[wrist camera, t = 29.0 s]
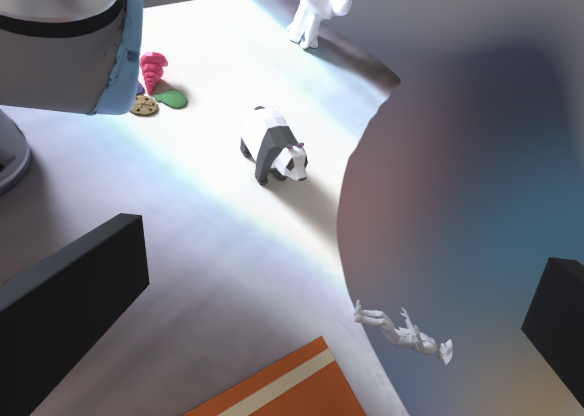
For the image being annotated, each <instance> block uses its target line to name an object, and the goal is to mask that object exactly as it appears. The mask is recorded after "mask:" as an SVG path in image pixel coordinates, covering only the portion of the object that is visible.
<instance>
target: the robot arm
mask: <svg viewBox="0 0 584 416" xmlns="http://www.w3.org/2000/svg"><path fill="white" fill-rule="evenodd" d="M142 21H143V1H142V0H0V105H6V106H15V107H25V108H34V109H43V110H52V111H61V112H70V113H80V114H86V115H95V114H109V115H122V114H125V113H127V112H129V111H130V110H131V109H132V108H133V106H134V103H135V98H136V92H137V85H138V75H139V56H140V47H141V39H142ZM9 116H10V115H9ZM10 117H11V116H10ZM11 118H12V117H11ZM12 120H13V121H14V122H15V123H14V122H13V121H12ZM12 120H11V119H10V118H9V117H8V116H7V115H6V114H5V113H4V112H3V111H2V110H1V109H0V194H2V193H3V192H5V191H6V190H8V189H9V188H11V187H12V186H13V185H14V184H15V183H17V182H18V181H19V180H20V178H21V177H22V176H23V175H24V173H25V172H26V170H27V168H28V166H29V163H30V156H31V154H30V149H29V146H28V143H27V141H26V138H25V136H24V134H23V133H24V132H23V131H22V129H21V128H20V127H19V125H18V124H17V123H16V121H15V120H14V119H13V118H12ZM149 284H150V283H149V274H148V266H147V257H146V248H145V239H144V230H143V221H142V215H133V214H123V213H120V214H118V215H117V216H115V217H113V218H112V219H110V220H108V221H107V222H105V223H103V224H102V225H100V226H98V227H97V228H95V229H93V230H92V231H90V232H88V233H87V234H85V235H84V236H82V237H80V238H79V239H77V240H75V241H74V242H72V243H70V244H69V245H67V246H65V247H64V248H62V249H60V250H59V251H57V252H55V253H54V254H52V255H50V256H49V257H47V258H45V259H44V260H42V261H40V262H39V263H37V264H35V265H34V266H32V267H30V268H29V269H27V270H25V271H24V272H22V273H20V274H19V275H17V276H15V277H14V278H12V279H10V280H9V281H7V282H5V283H4V284H2V285H1V286H0V416H29V415H30V414H31V413H32V412H33V411H34V410H35V409H36V408H37V407H38V406H39V405H40V403H41V402H42V401H43V400H44V399H45V398H46V397H47V396H48V395H49V394H50V393H51V391H52V390H53V389H54V388H55V387H56V386H57V385H58V384H59V383H60V382H61V380H62V379H63V378H64V377H65V376H66V375H67V374H68V373H69V372H70V371H71V370H72V368H73V367H74V366H75V365H76V364H77V363H78V362H79V361H80V360H81V359H82V358H83V356H84V355H85V354H86V353H87V352H88V351H89V350H90V349H91V348H92V347H93V346H94V344H95V343H96V342H97V341H98V340H99V339H100V338H101V337H102V336H103V335H104V333H105V332H106V331H107V330H108V329H109V328H110V327H111V326H112V325H113V324H114V323H115V321H116V320H117V319H118V318H119V317H120V316H121V315H122V314H123V313H124V312H125V311H126V309H127V308H128V307H129V306H130V305H131V304H132V303H133V302H134V301H135V300H136V298H137V297H138V296H139V295H140V294H141V293H142V292H143V291H144V290H145V289H146V288H147V286H148V285H149ZM521 329H522V331H523V332H524V333H525V335H526V336H527V337H528V338H529V340H530V341H531V342H532V343H533V345H534V346H535V347H536V349H537V350H538V351H539V352H540V353H541V355H542V356H543V357H544V359H545V360H546V361H547V363H548V364H549V365H550V366H551V368H552V369H553V370H554V371H555V373H556V374H557V375H558V376H559V378H560V379H561V380H562V381H563V383H564V384H565V385H566V386H567V388H568V389H569V390H570V391H571V393H572V394H573V395H574V397H576V399H577V400H578V402H579V403H580V404H581V405H582V407H583V408H584V266H583V265H582V264H580V263H579V262H578V261H576V260H570V259H569V260H568V259H560V258H550V257H549V259H548V262H547V265H546V267H545V269H544V272H543V274H542V277H541V279H540V282H539V284H538V287H537V290H536V292H535V295H534V297H533V300H532V302H531V305H530V308H529V310H528V312H527V315H526V318H525V320H524V323H523V325H522V328H521Z"/></svg>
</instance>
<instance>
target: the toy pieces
mask: <svg viewBox="0 0 584 416" xmlns="http://www.w3.org/2000/svg"><path fill="white" fill-rule="evenodd" d="M166 66H168V62H167V60H166V58H165V57H164V56H163V55H162V54H160V53H156V52H148V53H146V54H144V55H143V56H142V57H141V59H140V67H141V69H142V75H143V76H144V81H145V85H146V88H147V93H148V94H150V93H151V91H152V90H153V88H154V87H155V85H156V84H157V82H158V81H159V79H160V77H162V75H163V72H164V71H163V69H162V67H166ZM142 91H143V87H142V85H141V84H140V83H139V82H138V85H137V92H136V94H139V93H142ZM136 98H137V99H138V100H136ZM136 98H135V103H134V106H133V108H132V109H131V110H130V111H131V112H133V113H135V114H142V115H150V114H152V113H154V112H156V110H157V109H158V105H157V104H156V102H155V101H154V100H153V99H152V98H149V97H147V96H142V95H139V96H136ZM146 99H147V100H148V101H146ZM155 100H156V101H162V102H163V103H165V104H167V105H169V106H171V107H173V108H181V107H182V106H184V105H185V103H186V97H185V95H184V94H183V93H181V92H179V91H178V90H171V89H170V90H167V91H165V92H162V93H161V94H158V93H155ZM153 104H154V106H153ZM138 109H139V110H140V111H139V112H137V110H138ZM149 109H150V110H152V111H150V110H149Z"/></svg>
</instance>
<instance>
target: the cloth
mask: <svg viewBox="0 0 584 416" xmlns="http://www.w3.org/2000/svg"><path fill="white" fill-rule="evenodd" d="M183 416H366V415H365V413H364V411H363V409H362V408H361V406H360V404H359V402H358V400H357V399H356V397H355V395H354V393H353V391H352V390H351V388H350V386H349V384H348V382H347V381H346V379H345V377H344V375H343V373H342V372H341V370H340V368H339V366H338V364H337V363H336V361H335V358H334V356H333V354H332V352H331V351H330V349H329V348H328V346H327V345H326V343H325V341H324V339H323V337H322V336H321V337H319V338H318V339H316V340H314V341H312V342H311V343H309V344H307V345H305V346H304V347H302V348H300V349H298V350H297V351H295V352H293V353H291V354H290V355H288V356H286V357H284V358H283V359H281V360H279V361H277V362H276V363H274V364H272V365H270V366H268V367H267V368H265V369H263V370H261V371H260V372H258V373H256V374H254V375H253V376H251V377H249V378H247V379H246V380H244V381H242V382H240V383H239V384H237V385H235V386H233V387H232V388H230V389H228V390H226V391H225V392H223V393H221V394H219V395H218V396H216V397H214V398H212V399H211V400H209V401H207V402H205V403H204V404H202V405H200V406H198V407H197V408H195V409H193V410H191V411H190V412H188V413H186V414H184V415H183Z"/></svg>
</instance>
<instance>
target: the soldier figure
mask: <svg viewBox="0 0 584 416" xmlns="http://www.w3.org/2000/svg"><path fill="white" fill-rule="evenodd" d="M360 302H361V301H360V300H358V301H357V303H356V310H355V313H354V315H355V322H358V323H360V322H363V323H365V324H368V325H372V326H375V327H377V326H378V327H380V329H381V331H382V333H383V334H384V335H385V337H386V339H388V340H389V341H390V342H391V343H392V344H394V345H396V346H401V347H411V348H413V349H414V350H416V351H417V352H421V353H423V354H426V355H432V354H433V353H434V352H435V351H438V352H437V357H438V358H439V359H440V358H441V359H443V360H444V362H445V364H447V363H448V362H449V361H450V359H451V358H452V351H453V346H452V342H451V339H450V340H449V341H448V342H447V343H445V344H443V343H441V347H440V349H439V350H437V346H436V343H435V341H434V340H433V339H432V338H431V339H430V338H429V337H428V336H426V335H425V334H423V333H420V331H419V329H418V327H417V326H416V325H415V328H416V329H415V328H414V327H413V325H412V323H411V320H410V319H409V316H408V313H407V312H406V311H405V309H403V308H402V310H403V311H404V314H402V313H401V314H402V315H403V316H404V317H405V318H406V320H405V321H406V324H407V328H408V329H404V328H400V327H399V328H398V330H397V329H396V328H395V327H394V325H393V323H392V321H391V320H390V319H389V318H388V317H387V316H386V315H385V313H384V312H381V311H377V310H376V311H368V310H362V309H361V305H360ZM375 318H376V319H375ZM377 318H378V319H377Z"/></svg>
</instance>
